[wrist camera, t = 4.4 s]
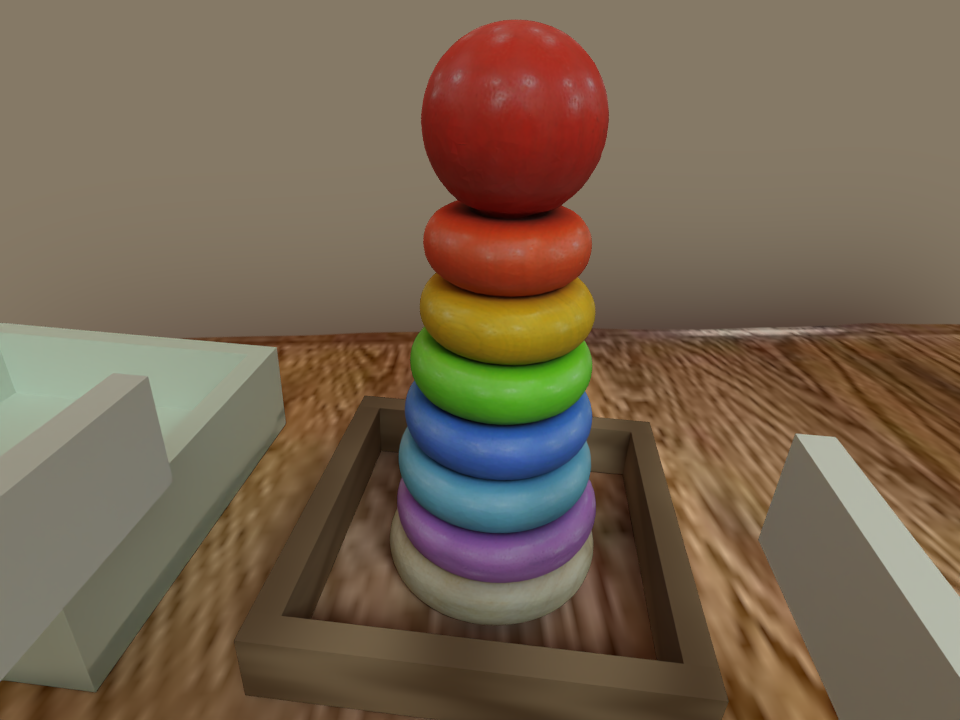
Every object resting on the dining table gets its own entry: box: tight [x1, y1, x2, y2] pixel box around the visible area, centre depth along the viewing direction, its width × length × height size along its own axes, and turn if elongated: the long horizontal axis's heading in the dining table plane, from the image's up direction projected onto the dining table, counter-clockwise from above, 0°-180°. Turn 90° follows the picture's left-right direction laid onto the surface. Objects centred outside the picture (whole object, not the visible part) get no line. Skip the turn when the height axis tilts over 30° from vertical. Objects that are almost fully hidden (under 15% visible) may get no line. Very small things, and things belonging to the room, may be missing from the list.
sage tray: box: [0, 323, 286, 692], centre depth 24 cm, size 15×15×4 cm
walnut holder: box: [234, 396, 729, 720], centre depth 23 cm, size 14×14×2 cm
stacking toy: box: [390, 20, 609, 625], centre depth 20 cm, size 8×8×19 cm
